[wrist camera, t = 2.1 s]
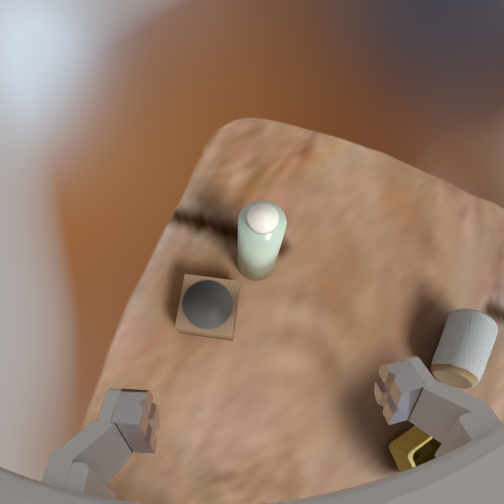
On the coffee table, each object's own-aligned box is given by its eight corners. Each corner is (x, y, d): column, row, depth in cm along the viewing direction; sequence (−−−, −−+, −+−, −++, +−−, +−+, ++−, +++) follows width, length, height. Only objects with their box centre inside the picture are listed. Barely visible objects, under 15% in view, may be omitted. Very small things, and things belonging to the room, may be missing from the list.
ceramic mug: (416, 371, 32) (454, 365, 25) (437, 315, 35) (473, 300, 28) (467, 400, 30) (505, 398, 23) (484, 348, 33) (520, 338, 26)
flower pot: (393, 491, 26) (431, 511, 17) (369, 441, 29) (407, 454, 20) (445, 451, 27) (489, 458, 19) (425, 401, 31) (470, 400, 22)
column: (272, 282, 36) (286, 241, 26) (235, 278, 36) (234, 235, 26) (275, 248, 38) (289, 199, 28) (240, 244, 38) (241, 193, 28)
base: (232, 340, 33) (232, 336, 30) (179, 332, 33) (174, 327, 30) (239, 289, 36) (240, 280, 33) (188, 282, 36) (184, 273, 33)
